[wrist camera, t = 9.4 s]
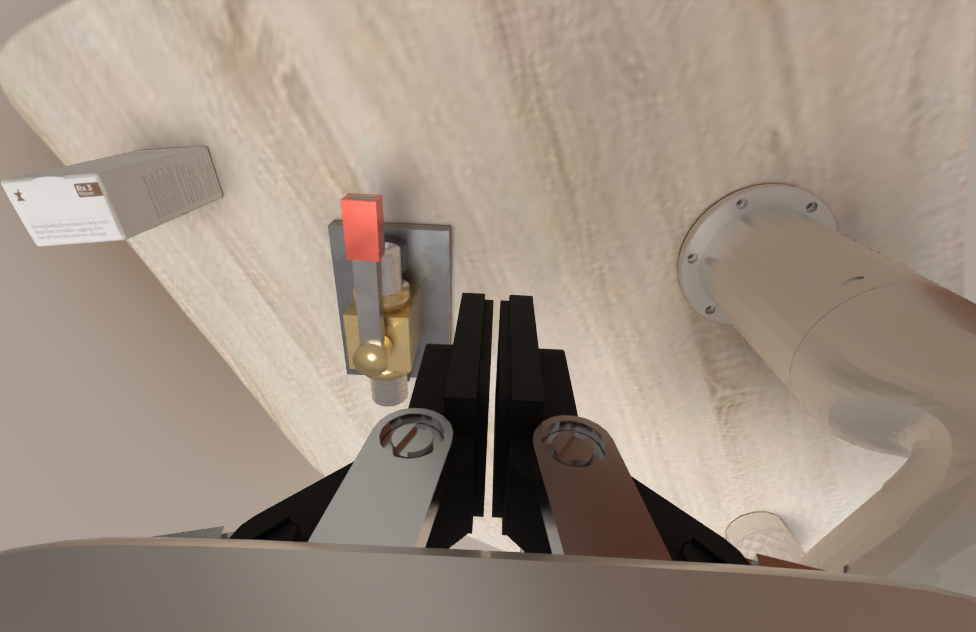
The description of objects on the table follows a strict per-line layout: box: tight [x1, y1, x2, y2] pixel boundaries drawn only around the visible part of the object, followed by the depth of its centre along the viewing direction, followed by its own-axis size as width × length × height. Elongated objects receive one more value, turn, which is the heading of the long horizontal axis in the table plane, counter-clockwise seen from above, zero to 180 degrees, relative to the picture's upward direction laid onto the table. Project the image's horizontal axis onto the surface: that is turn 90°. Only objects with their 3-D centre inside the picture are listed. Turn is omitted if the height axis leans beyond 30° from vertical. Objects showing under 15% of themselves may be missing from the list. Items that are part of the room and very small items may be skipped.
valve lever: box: [341, 193, 393, 376], centre depth 33 cm, size 13×3×2 cm, turn 177°
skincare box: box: [1, 146, 222, 246], centre depth 33 cm, size 6×4×12 cm
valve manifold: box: [328, 220, 451, 406], centre depth 41 cm, size 10×15×8 cm, turn 178°
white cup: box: [726, 512, 806, 563], centre depth 53 cm, size 8×8×10 cm
